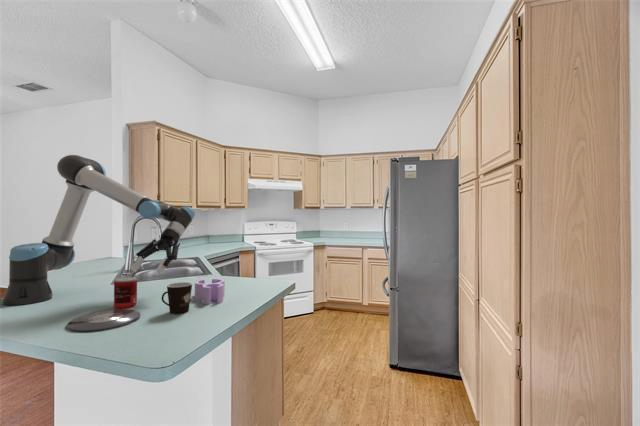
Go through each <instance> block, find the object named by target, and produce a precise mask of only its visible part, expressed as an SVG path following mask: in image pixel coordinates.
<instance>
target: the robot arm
mask: <svg viewBox="0 0 640 426" xmlns="http://www.w3.org/2000/svg"><path fill="white" fill-rule="evenodd" d="M56 167H57V172H58V174H59V175H60V177H62V178H63V179H64V180H65V184H66V185H67V188H66V191H65V194H64V196H63V199H62V202H61V204H60V206H59V208H58V211H57V214H56V216H55V219H54V222H53V224H52V227H51V230H50V232H49V235H48V236H45V237H44V238H42V241H41V242H35V243H34V242H33V243H26V244H25V243H24V244H19V245H15V246H13V247H11V248H10V251H9V256H8V259H9V277H8V278H9V279H8V280H9V282H8V286H7V288H6V291H5V293H4V295H3V298H2V305H4V306H19V305H20V306H22V305H30V304H35V303H36V304H37V303H40V302H44V301H49V300H51V299H53V291H52V288H51V286H50V284H49V281H48V272H50V271H51V272H52V271H56V270H57V271H58V270H61V269H63V268H65V267H67V266H69V265H71V264H72V263H73V261H74V260H75V257H76V251H75V248H74V247H75V243H74V241H73V238H74V236H75V233H76V230H77V228H78V225H79V224H80V219H81V218H82V215H83V212H84V211H85V207H86V205H87V203H88V200H89V197H90V194H91V193H93V192H95V191H96V192H97V193H99V194H100V195H103V196H105V197H107V198H109V199H111V200H112V201H115V202H116V203H119V204H120V205H123V206H125V207H126V208H128V209H130V210H133V211H134V212H137V213H138V214H139V215H140V216H141V217H143V218H145V219H149V220H153V219H154V220H155V219H162V220H164V221H166V222H169V224H167V226H166V227H165V229H164V230H163V231H162V233H161V234H160V239H159V240H156V239H152V240H151V242H150V243H148V244H147V245H146V246H145V247H143V248H142V249H140V250H139V251H138V252H136V254H135V255H136V256H137V258H136V259H135V261H134V263H133V264H132V265H131V267H130V270H131V271H133V273H137V271H138V270H139V269H140V267H141V265H143V263H144V261H145V259H146V258H148V257H149V256H151V255H153V254H154V253H156V252H160V251H165V254H166V256H165V257H164V258H163V260H162V261H161V262H160V263H159V265H158V267H157V268H156V269H155V271H156V272H157V273H158V274H159V275H161V274H162V273H164V270H165V269H166V268H167V267H168V266H169V264H170V263H171V262H172V261H176V260H178V253H179V247H180V245H181V243H180V242H179V241H180V238H181V237H182V236H183V234H184V233H185V231H186V230H187V228H188V227H189V225H191V223H192V221H193V220H194V218H195V216H196V212H195V211H194V209H193V208H191V206H187V205H186V206H185V205H184V206H181V207H180V208H179V207H175V206H173V205H171V204H168V203H165V202H164V201H161V200H158V199H154V200H153V199H150V198H149V197H147V196H145V195H143V194H141V193H139V192H138V191H135V190H133V189H132V188H129V187H127V186H125V185H124V184H121V183H120V182H118V181H116V180H114V179H112V178H110V177H109V176H107V172H106V169H105V167H104V166H103V164H101V163H100V162H98V161H97V160H94V159H91V158H88V157H83V156H81V155H77V154H68V155H65V156H63V157H61V158H60V159H59V161H58V162H57V165H56Z"/></svg>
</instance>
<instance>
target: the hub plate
mask: <svg viewBox="0 0 640 426" xmlns="http://www.w3.org/2000/svg"><path fill="white" fill-rule="evenodd" d="M140 318H141V313H140V311H139V310H135V309H111V310H102V311H97V312H93V313H87V314H84V315H80V316H78V317H75V318H73V319H71V320H70V321H68V323H67V329H68V331H71V332H76V333H77V332H78V333H92V332H100V331H101V332H102V331H108V330H112V329H118V328H121V327H122V328H123V327H126V326H128V325H130V324H132V323H135V322H137V321H138V320H139V319H140Z"/></svg>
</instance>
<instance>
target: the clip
mask: <svg viewBox="0 0 640 426" xmlns="http://www.w3.org/2000/svg"><path fill="white" fill-rule="evenodd" d="M205 280H206V279H204V278H203V279H202V278H199V279H198V280H196V281H194V300H196V299H198V300H197V301H202V304H203V303H204V304H203V305H211V304H212V301H216V303H217V304H221V303H223V302H224V297H225V289H226V288H225V285H226V284H225V282H226V281H225V279H223V278H217V277H213V278H211V283H205ZM215 299H216V300H215Z"/></svg>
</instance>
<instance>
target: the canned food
mask: <svg viewBox="0 0 640 426" xmlns="http://www.w3.org/2000/svg"><path fill="white" fill-rule="evenodd" d="M137 299H138V277H135V276H124V277H123V276H122V277H117V278H114V283H113V308H114V310H120V309H128V310H130V309H133V308H135V307H136V306H137V303H138V302H137Z"/></svg>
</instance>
